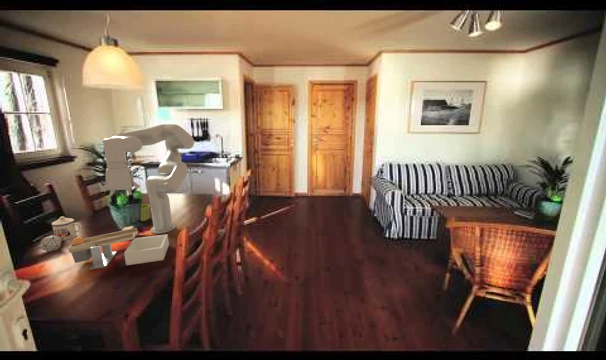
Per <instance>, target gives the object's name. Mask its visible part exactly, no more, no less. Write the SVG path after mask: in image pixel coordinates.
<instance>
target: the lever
mask: <svg viewBox="0 0 606 360" xmlns="http://www.w3.org/2000/svg"><path fill="white" fill-rule="evenodd" d="M138 234H139V231H138V228H137V227H135V226H134V225H131V226H126V227H123V229H122V230H119V231H115V232H111V233H110V232H109V233H105V234H100V235H96V236H91V237H85V238H83V239H84V243H83V244H81V245H76V246H74V245H73V244H72V243H71V244H70V245H69V246H67V250H68V252H69V254H71V255H72V259H73V262H74V263H75V264H79V263H82V262H87V261H89V260H91V259H92V254H91V249H90V248H91V246H98V245H100V247H102V246H104V245H109V244H111V245H112V244H117V243H122V242H126V241H130V240H133V239H134V238H137V237H136V236H137V235H138Z"/></svg>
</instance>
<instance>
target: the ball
mask: <svg viewBox="0 0 606 360" xmlns="http://www.w3.org/2000/svg"><path fill="white" fill-rule="evenodd" d="M84 239H85V238H83V237H81V236H75V237H74V238H72V239H71V240H72V241H71V244H73V245H74V246H76V245H81V244H83V243H84Z"/></svg>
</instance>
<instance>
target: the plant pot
mask: <svg viewBox="0 0 606 360" xmlns="http://www.w3.org/2000/svg"><path fill="white" fill-rule="evenodd" d="M140 205H141V221H140V222H146V221H148V220H149V217H150V215H149V213H150V212H149V211H150V208H151V205H150V204H140Z"/></svg>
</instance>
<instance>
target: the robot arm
mask: <svg viewBox="0 0 606 360" xmlns="http://www.w3.org/2000/svg"><path fill="white" fill-rule="evenodd" d="M163 141H164V144H165V148H166V155H165V157H164V158H163V159H162V161H161V163H160V164H159V166H158V168H157V173H158V174H155V175H150V176H148V177H147V178H146V180H145V188H146V191H147V195H148V198H149V205H150V210H151V211H150V212H151V218H152V219H151V220H152V227H151V228H150V232H151V233H152V234H156V235H157V234H160V235H161V234H166V233H169V232H171V231H173V230H175V229H176V224H174V223H173V219H172V212H171V211H172V210H171V203H170V198H169V195H168V194H174V193H177V192H178V191H179V189H180V188H181V186H182V184H183V183H184V181H185V179H186V177H187V174H188V171H189V170H188V166H187V164H186V163H185V162H184V161H182V156H181V155H182V154H181V153H180V151H179V149H180V150H189V149H192V148H193V147H194V146H195V140H194V137H193V136H192V135H191V134H190V133H189V132H187V130H185V129H184V128H183V127H182V126H181V125H178V124H174V123H173V124H171V123H170V124H169V123H168V124H167V123H166V124H165V123H164V124H159V125H155V126H152V127H148V128H145V129H144V128H143V129H139V130H135V131H134V130H133V131H128V132H122V133H120V134H115V135H113V136H111V137H106V138H103V140H102V145H103V150H104V156H105V162H106V167H107V168H105V184H104V185H102V187H101V188H100V190H101V191H102V192H104V193H105V194H107V195H109V197H110V201H111V203H112V205H113V206H115V205H116V204H117V203H118V200H117V195H116V191H122V190H123V191H124V190H126V191H127V193H128V201H129V203H130V204H132V203H133V202H134V201H135V197H134V193H135V192H137V190H138V189H139V188H140V186H141V185H140V184H139V183H137V182H136V181H135V179H134V176H133V173H132V169H131V167H130V166H131V165H132V163H131V162H130V161H128V160H127V155H126V153H137V152H139V151H140V150H141V149H142V148H143V146H152V145H156V144H158V143H160V142H161V143H162V142H163ZM133 187H134V188H133Z"/></svg>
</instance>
